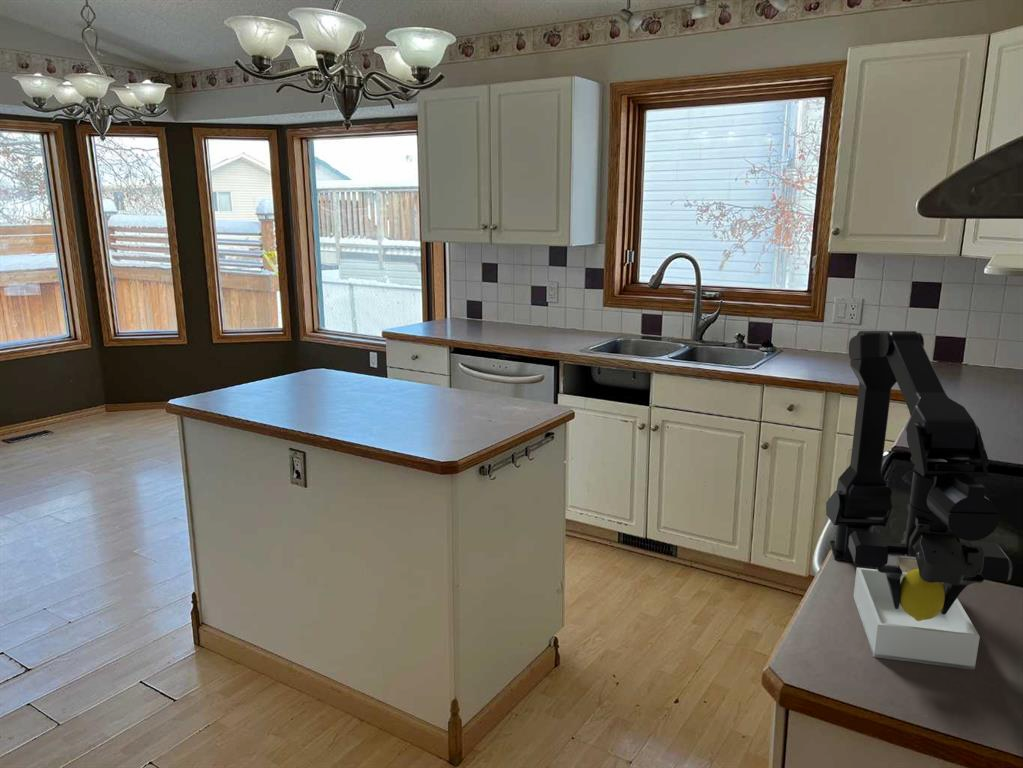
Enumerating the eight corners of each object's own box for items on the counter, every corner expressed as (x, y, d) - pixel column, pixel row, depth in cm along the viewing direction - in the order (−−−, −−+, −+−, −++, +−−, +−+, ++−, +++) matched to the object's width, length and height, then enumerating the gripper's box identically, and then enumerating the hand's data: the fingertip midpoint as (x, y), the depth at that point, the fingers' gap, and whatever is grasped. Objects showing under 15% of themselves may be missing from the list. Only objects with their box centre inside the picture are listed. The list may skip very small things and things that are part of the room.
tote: (853, 596, 116) (856, 567, 115) (940, 605, 113) (944, 576, 112) (873, 656, 102) (877, 624, 100) (974, 669, 98) (979, 636, 97)
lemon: (946, 633, 100) (954, 580, 98) (902, 630, 101) (908, 577, 99) (933, 611, 105) (940, 560, 103) (890, 608, 107) (896, 557, 104)
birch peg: (893, 575, 122) (898, 536, 121) (927, 580, 121) (933, 541, 119) (897, 590, 118) (903, 550, 116) (933, 596, 116) (939, 555, 114)
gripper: (868, 525, 94) (856, 634, 98) (1038, 540, 89) (1018, 654, 93) (853, 491, 104) (842, 590, 108) (1004, 502, 99) (987, 606, 104)
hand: (919, 610), depth 103 cm, fingers closed on lemon, 5 cm apart
